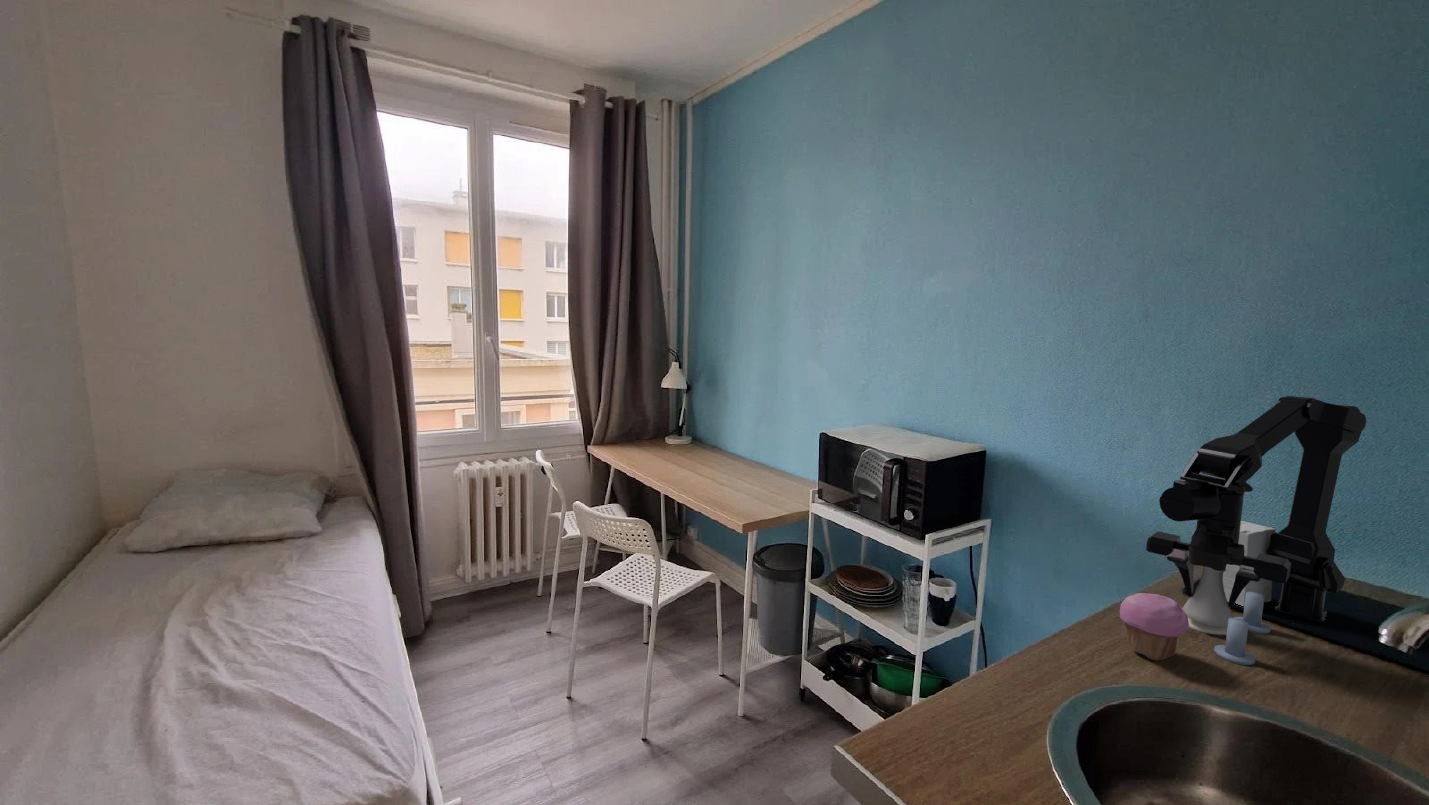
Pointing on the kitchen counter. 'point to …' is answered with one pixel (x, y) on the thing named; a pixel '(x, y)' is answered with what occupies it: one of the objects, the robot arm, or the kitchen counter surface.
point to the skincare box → (1254, 544)
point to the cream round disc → (1207, 628)
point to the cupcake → (1153, 624)
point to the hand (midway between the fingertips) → (1209, 601)
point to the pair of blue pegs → (1243, 631)
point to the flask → (1209, 600)
